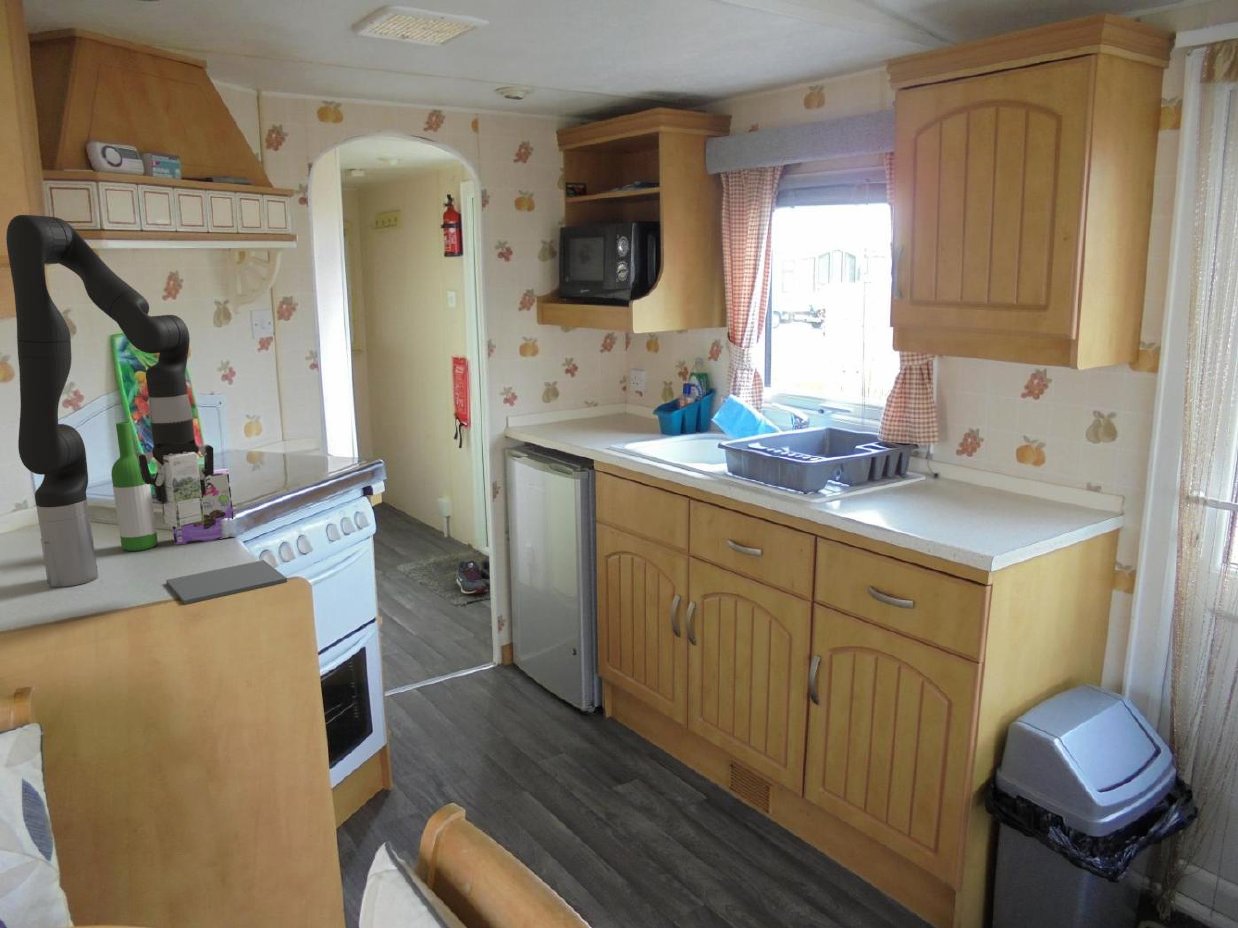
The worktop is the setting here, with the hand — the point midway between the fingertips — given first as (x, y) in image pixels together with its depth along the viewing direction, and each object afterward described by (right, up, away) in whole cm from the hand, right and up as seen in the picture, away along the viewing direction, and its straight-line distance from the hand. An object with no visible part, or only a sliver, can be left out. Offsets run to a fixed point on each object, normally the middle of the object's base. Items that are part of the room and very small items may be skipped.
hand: (181, 500), depth 188 cm
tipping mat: (+6, -18, +8) cm, 20 cm away
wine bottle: (-26, -13, +35) cm, 45 cm away
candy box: (-13, -11, +41) cm, 44 cm away
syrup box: (0, -5, +1) cm, 5 cm away
